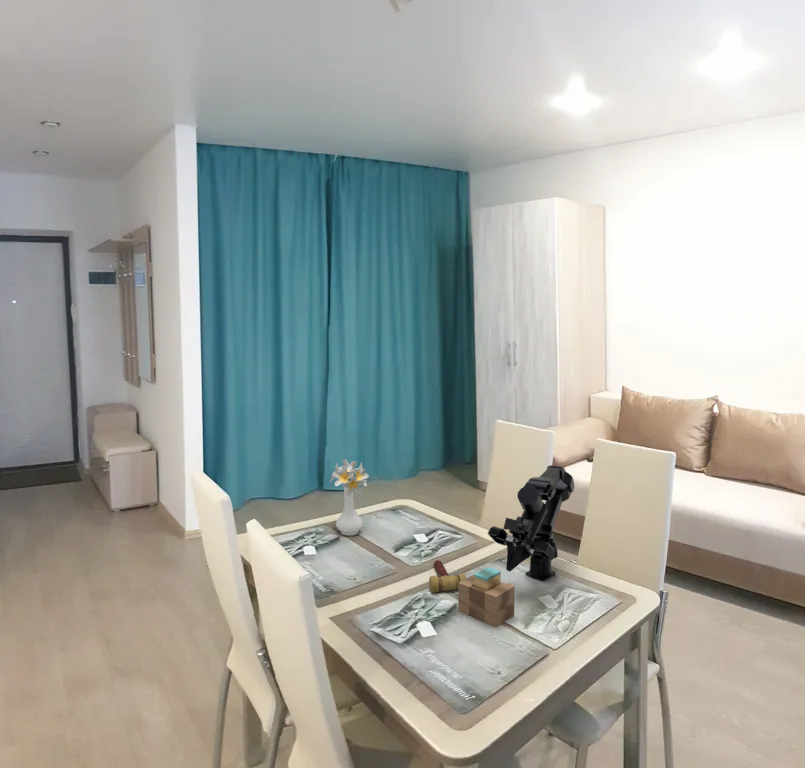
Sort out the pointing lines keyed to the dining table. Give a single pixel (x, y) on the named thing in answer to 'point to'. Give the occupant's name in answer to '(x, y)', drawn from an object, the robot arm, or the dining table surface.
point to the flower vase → (349, 496)
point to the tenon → (487, 579)
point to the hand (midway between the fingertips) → (508, 570)
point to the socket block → (486, 602)
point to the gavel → (444, 579)
